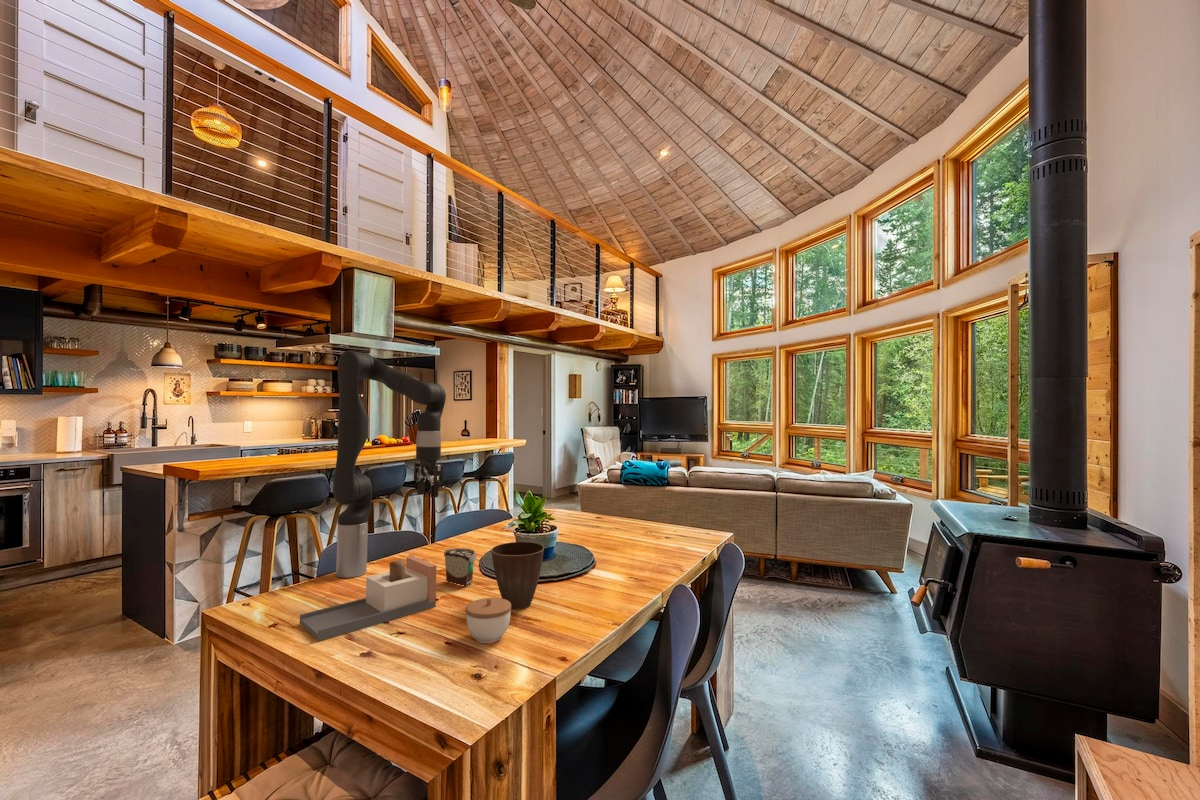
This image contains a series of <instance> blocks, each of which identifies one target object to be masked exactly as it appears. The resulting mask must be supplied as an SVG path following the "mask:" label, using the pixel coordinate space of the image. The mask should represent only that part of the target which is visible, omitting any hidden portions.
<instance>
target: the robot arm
mask: <svg viewBox="0 0 1200 800" xmlns="http://www.w3.org/2000/svg"><path fill="white" fill-rule="evenodd" d="M337 361H338V362H337V380H338V392H339V393H338V396H339V397H338V398H339V399H338V403H339V405H338V407H339V408H338V423H337V451H336V462H335V469H334V476H333V482H332V494H333V497H334V500H335V502H336V503H338V504H340V505H347V507H346V508H345V510H343V511H342V512H341V513H340V514H339V515H338V516H337V527H336V528H337V531H336V534H337V535H336V565H335V567H336V568H335V570H336V571H335V576H336V577H338V578H346V579H348V578H357V577H360V576H363V575H365V574H367V568H368V567H367V563H368V535H369V534H368V532H369V531H368V530H369V529H368V528H369V526H368V523H369V516H370V513H371V511H372V510H371V509H372V508H371V507H372V501H373V500H372V498H373V485H372V481H371V479H370V478H369V477H368V476H367V475H366V474H364V473H363V474H356V473H355V471H356V470H355V469H356V464H357V460H358V457H359V455H360V453H361V452H362V450H363V448H364V447H365V444H366V442H367V440H368V438H369V423H370V422H369V421H370V420H369V414H368V411H367V410H366V407H365V405H364V403H363V402H362V398H361V397H360V394H359V380H371V381H376V382H379V383H381V384H384V386H386V388H388V389H390V390H391V391H393V392H394V393H397V394H400V395H403V396H405V397H407V398H408V399H410V400H411V401H413V402H414V403H417V404H420V405H426V406H425V411H423V412H421V413H419V414H418V416H417V428H416V429H417V433H416V442H415V443H416V445H415V459H416V460H417V461H415V462H414V467H413V468H414V469H413V480H414V481H416V483H417V490H416V491H417V493H416V494H417V495H418V496H419V495H420V496H422V495H425V494H426V480H428V481H429V483H430V498H433V499H434V498H438V497H439V486H440V485H441V484H443V483H444V473H443V472H444V471H443V464H438V462H437V461H439V460H441V456H442V450H441V449H442V436H441V435H442V434H441V425H442V424H441V423H442V422H441V421H442V420H441V418H442V414H443V412H444V408H445V405H446V399H447V395H446V391H445V388H444V387H443V385H442V384H439V383H432V382H424V381H421V380H420V379H419V378H418V377H416V376H414V375H412V374H409V373H406V372H404V371H401V370H398V369H396V368H393V367H391V366H389V365H387V364H385V363H384V362H382V361H381V360H379V359H377V358H376V357H375V356H373V355H371V354H369V353H366V352H362V351H361V352H360V351H355V350H346V351H343V352H342V353H341V354H340V356H339V357H338V360H337Z"/></svg>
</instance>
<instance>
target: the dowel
mask: <svg viewBox="0 0 1200 800" xmlns="http://www.w3.org/2000/svg"><path fill="white" fill-rule="evenodd" d="M405 568H406V560H393V561H391V562H389V572H390V577H389V581H390V582H394V581H398V580H402V579H405Z"/></svg>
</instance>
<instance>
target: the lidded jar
mask: <svg viewBox="0 0 1200 800" xmlns="http://www.w3.org/2000/svg"><path fill="white" fill-rule="evenodd" d="M511 611H512V609H511V603H510V602H509V601H508V600H505V599H502V597H501V598H500V597H486V598H485V597H484V598H479V599H476V600H473V601H470V602H469V603H467V605H466V607H465V613H466V616H465V617H466V626H467V629H468V632H469V633H470V635H471V637H472V638H473V639H475V641H476V642H477V643H480V644H494V643H496V642H499V640H501V638H502V637H503V635H504V634H505V633H506V632H507V630H508V628H509V625H510V621H511Z"/></svg>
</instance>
